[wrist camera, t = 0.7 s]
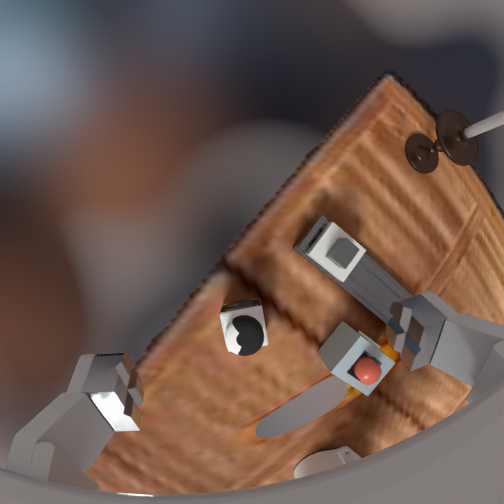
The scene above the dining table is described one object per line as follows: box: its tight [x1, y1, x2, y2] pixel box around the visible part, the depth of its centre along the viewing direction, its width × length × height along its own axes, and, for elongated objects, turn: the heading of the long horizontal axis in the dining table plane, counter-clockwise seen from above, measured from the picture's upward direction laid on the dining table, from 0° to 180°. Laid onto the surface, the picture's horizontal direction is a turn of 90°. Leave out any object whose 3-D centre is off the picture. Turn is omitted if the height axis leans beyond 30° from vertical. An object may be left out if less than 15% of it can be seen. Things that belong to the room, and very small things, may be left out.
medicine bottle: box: [220, 298, 269, 356], centre depth 49 cm, size 7×7×12 cm
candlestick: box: [405, 110, 504, 173], centre depth 37 cm, size 11×11×35 cm
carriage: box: [305, 222, 366, 282], centre depth 49 cm, size 8×7×7 cm
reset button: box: [352, 355, 382, 385], centre depth 45 cm, size 4×4×4 cm
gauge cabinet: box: [317, 321, 395, 396], centre depth 51 cm, size 10×9×10 cm
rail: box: [293, 214, 412, 325], centre depth 53 cm, size 28×8×4 cm, turn 52°
